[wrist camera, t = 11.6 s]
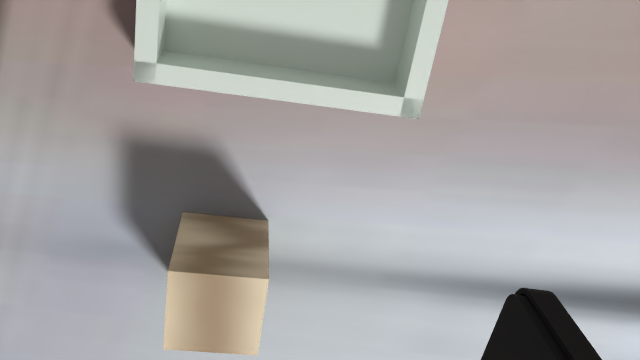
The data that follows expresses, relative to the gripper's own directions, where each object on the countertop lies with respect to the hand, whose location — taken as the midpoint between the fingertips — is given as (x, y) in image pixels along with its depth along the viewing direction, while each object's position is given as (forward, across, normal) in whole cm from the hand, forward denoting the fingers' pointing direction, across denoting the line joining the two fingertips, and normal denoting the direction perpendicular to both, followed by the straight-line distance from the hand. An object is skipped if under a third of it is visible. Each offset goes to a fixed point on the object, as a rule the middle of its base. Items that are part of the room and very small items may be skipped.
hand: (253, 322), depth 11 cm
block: (+22, 0, +13) cm, 26 cm away
